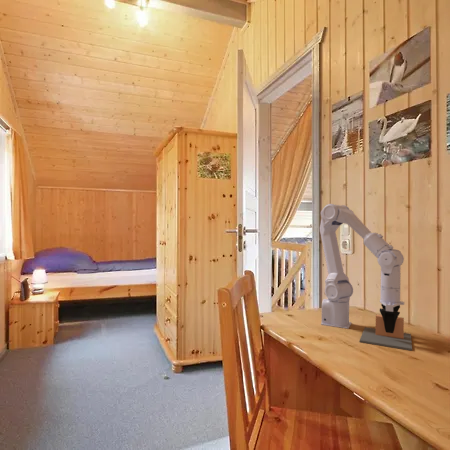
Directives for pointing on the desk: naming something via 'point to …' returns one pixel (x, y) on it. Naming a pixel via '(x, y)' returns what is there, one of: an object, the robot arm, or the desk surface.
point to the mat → (386, 339)
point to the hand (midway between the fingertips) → (389, 329)
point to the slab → (397, 330)
